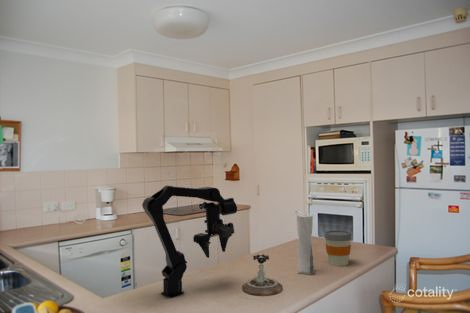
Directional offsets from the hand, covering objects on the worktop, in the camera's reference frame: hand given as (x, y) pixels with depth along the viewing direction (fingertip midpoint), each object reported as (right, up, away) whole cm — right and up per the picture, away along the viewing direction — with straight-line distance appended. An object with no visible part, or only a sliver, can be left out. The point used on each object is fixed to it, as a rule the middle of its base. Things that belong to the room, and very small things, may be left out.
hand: (215, 254), depth 158 cm
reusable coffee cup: (+59, -12, +28) cm, 66 cm away
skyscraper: (+40, -12, +16) cm, 45 cm away
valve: (+19, -11, -6) cm, 23 cm away
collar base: (+19, -12, -6) cm, 23 cm away
